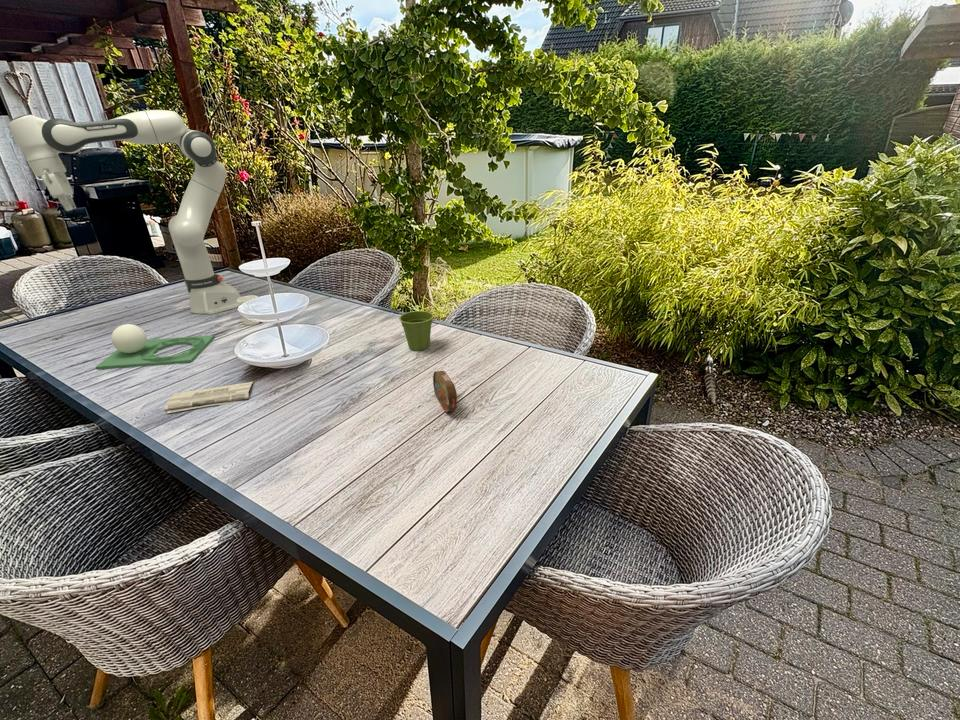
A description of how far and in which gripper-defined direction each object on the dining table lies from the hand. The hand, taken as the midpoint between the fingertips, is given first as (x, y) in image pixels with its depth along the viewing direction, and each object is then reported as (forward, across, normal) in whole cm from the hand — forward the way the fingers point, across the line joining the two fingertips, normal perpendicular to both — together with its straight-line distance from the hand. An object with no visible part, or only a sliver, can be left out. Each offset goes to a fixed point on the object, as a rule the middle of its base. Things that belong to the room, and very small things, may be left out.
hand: (71, 209), depth 170 cm
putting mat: (+50, -32, -6) cm, 59 cm away
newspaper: (+56, -78, -18) cm, 97 cm away
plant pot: (+64, -81, -83) cm, 132 cm away
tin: (+66, -119, -72) cm, 154 cm away
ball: (+42, -29, 0) cm, 51 cm away
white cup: (+54, -21, -39) cm, 70 cm away
